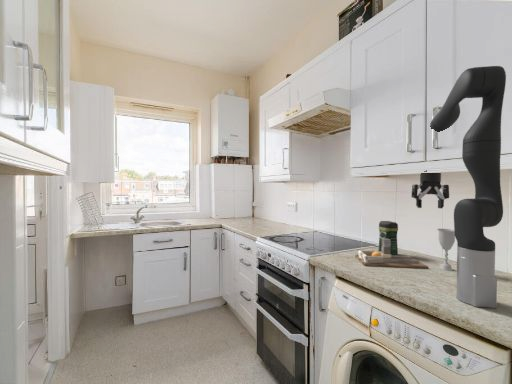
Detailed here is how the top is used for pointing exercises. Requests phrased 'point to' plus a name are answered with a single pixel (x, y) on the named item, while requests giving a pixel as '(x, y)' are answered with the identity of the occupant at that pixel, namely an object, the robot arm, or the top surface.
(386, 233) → the coffee jar
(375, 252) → the ball
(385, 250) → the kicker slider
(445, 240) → the chalice
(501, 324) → the top surface
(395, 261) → the board
